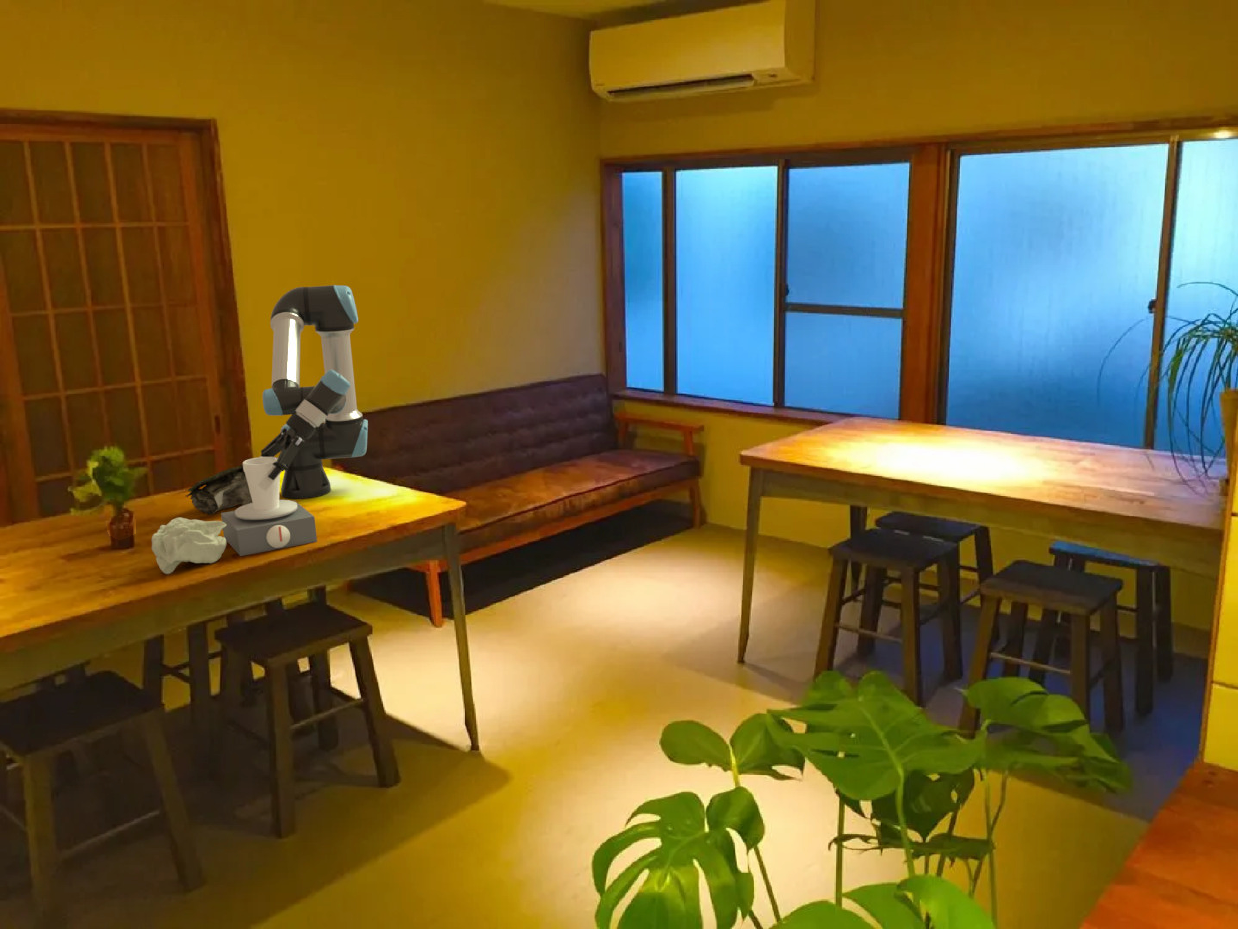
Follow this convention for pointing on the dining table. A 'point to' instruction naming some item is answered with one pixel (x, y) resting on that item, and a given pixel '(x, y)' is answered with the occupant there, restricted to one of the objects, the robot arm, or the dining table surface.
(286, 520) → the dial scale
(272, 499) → the foam cup
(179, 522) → the wavy plaster lump
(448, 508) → the dining table surface
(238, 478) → the weathered wood log
